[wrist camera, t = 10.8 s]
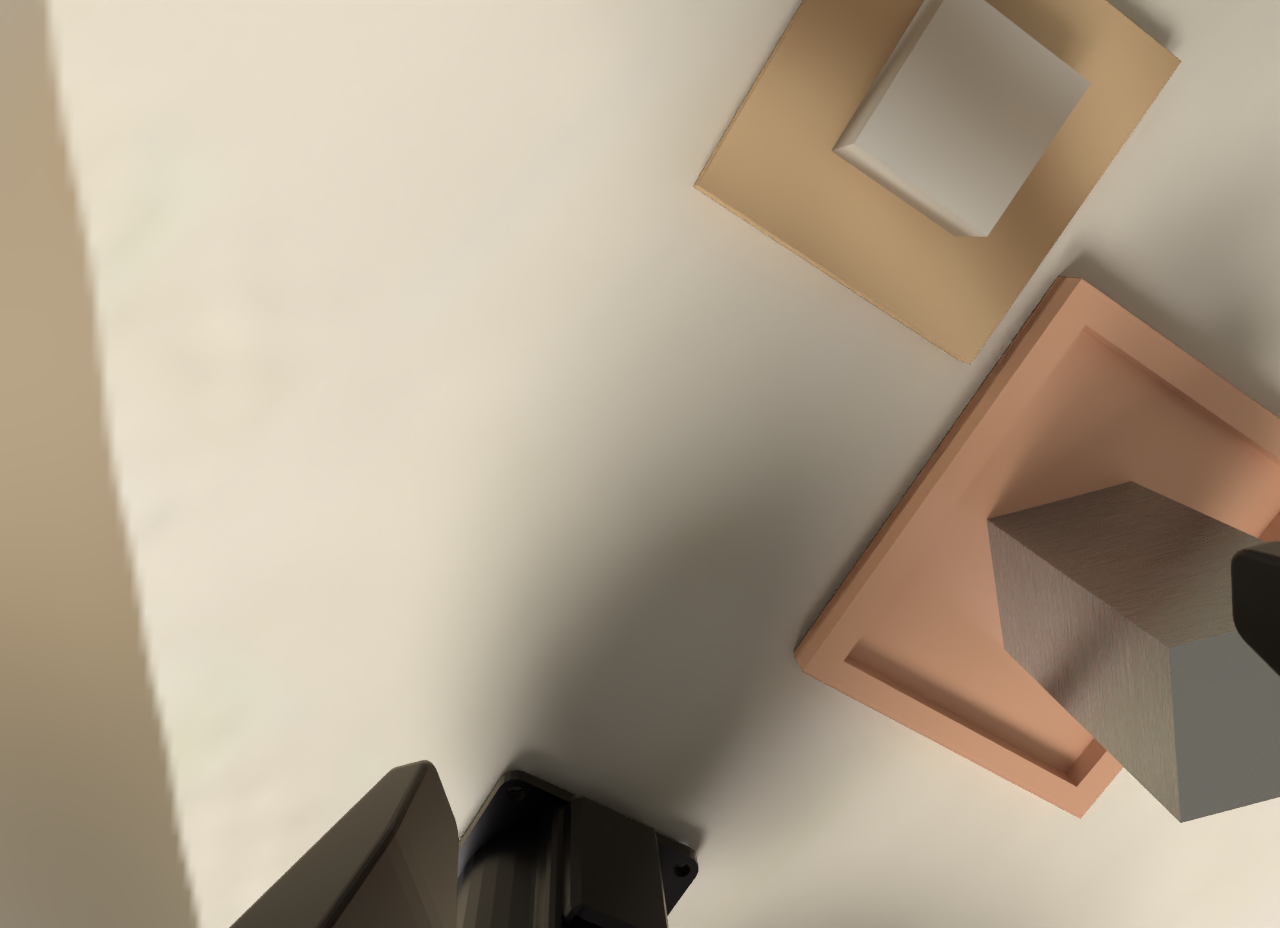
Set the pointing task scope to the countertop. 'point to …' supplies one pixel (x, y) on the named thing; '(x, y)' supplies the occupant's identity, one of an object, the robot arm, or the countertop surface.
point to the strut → (1143, 641)
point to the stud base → (879, 227)
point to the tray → (1020, 479)
